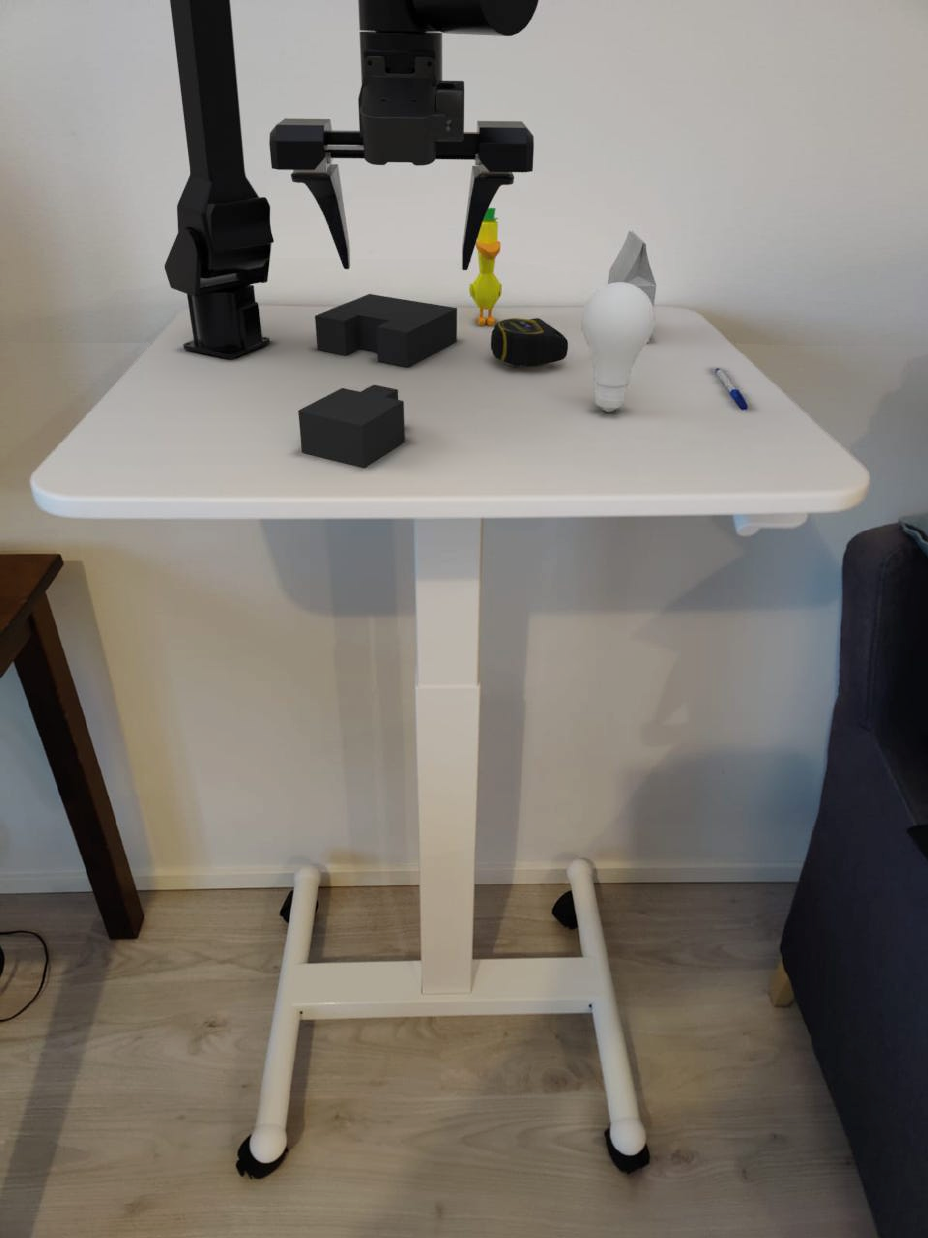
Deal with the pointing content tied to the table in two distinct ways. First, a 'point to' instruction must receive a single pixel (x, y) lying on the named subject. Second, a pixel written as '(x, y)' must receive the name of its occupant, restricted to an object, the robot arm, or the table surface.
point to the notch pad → (387, 329)
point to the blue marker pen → (732, 390)
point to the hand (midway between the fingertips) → (405, 268)
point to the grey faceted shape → (634, 267)
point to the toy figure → (487, 269)
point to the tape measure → (527, 342)
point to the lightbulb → (616, 337)
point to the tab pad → (353, 425)
